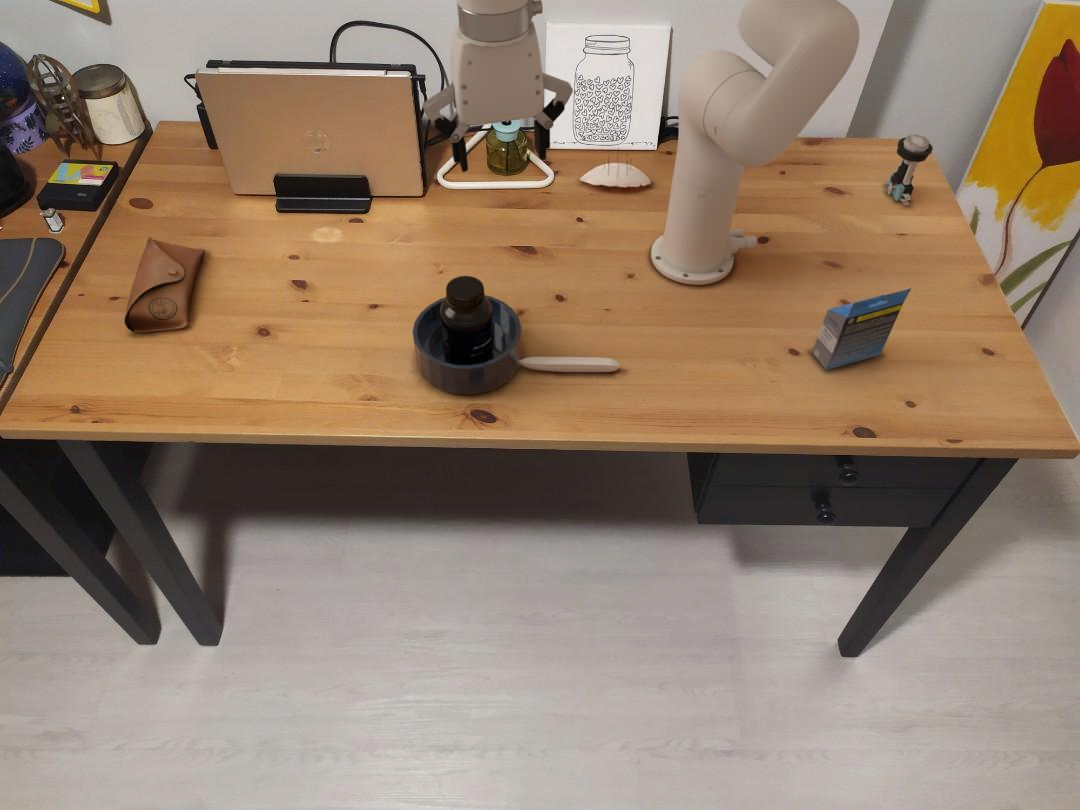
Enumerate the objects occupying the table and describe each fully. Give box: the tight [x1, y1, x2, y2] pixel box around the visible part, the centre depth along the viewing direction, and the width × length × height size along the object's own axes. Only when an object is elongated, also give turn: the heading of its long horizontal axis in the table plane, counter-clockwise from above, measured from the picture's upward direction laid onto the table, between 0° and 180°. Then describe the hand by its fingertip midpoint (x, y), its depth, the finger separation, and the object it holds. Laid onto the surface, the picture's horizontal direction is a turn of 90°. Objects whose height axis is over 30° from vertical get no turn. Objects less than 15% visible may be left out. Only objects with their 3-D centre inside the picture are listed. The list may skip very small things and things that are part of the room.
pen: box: [519, 356, 621, 373], centre depth 109 cm, size 2×14×2 cm, turn 90°
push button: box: [886, 133, 934, 206], centre depth 133 cm, size 7×5×10 cm
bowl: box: [412, 294, 523, 395], centre depth 109 cm, size 14×14×6 cm
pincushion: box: [579, 146, 651, 189], centre depth 136 cm, size 12×6×6 cm, turn 87°
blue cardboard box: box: [811, 287, 912, 371], centre depth 107 cm, size 9×4×12 cm, turn 110°
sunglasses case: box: [123, 236, 206, 334], centre depth 118 cm, size 18×7×7 cm
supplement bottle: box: [440, 275, 494, 365], centre depth 106 cm, size 7×7×12 cm
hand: (502, 159), depth 99 cm, fingers open, 9 cm apart
